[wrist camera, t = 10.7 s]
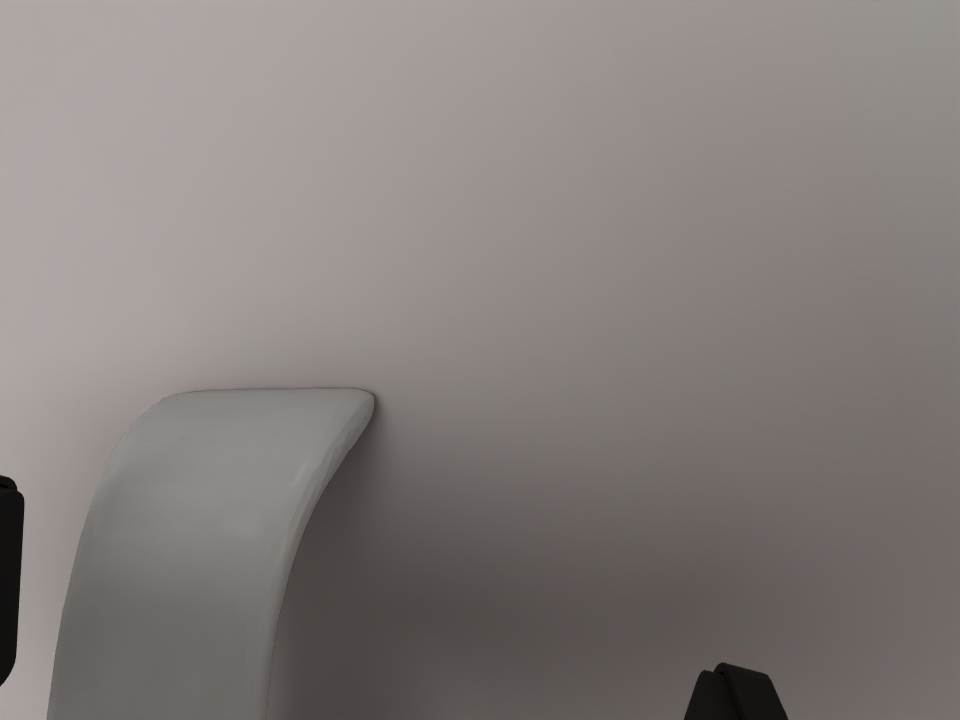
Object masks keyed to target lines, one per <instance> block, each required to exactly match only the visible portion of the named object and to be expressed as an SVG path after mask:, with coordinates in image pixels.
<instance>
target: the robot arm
mask: <svg viewBox="0 0 960 720" xmlns="http://www.w3.org/2000/svg"><path fill="white" fill-rule="evenodd" d="M23 522H24V497H23V495H22V494H21V493H20V492H18V491H17V486H16V484H15V482H14V481H13V480H12V479H10V478H9V477H5V476H1V475H0V686H1V685H2V684H3V683H4V682H5V680H6V679H7V678H8V676H9V674H10V672H11V671H12V669H13V666H14V663H15V659H16V649H17V631H18V613H19V595H20V576H21V558H22V540H23ZM684 720H788V718H787V715H786V713H785V711H784V709H783V706H782V704H781V702H780V699H779V697H778V695H777V693H776V690H775V688H774V686H773V684H772V681H771V680H770V678H769V677H768V675H766V674H764V673H761V672H757V671H753V670H749V669H745V668H742V667H738V666H734V665H730V664H726V663H720V664H718V665H717V667H716V668H715V670H714V672H710V671H706V670H704V671H702V672H701V673H700V675H699V677H698V679H697V682H696V685H695V688H694V691H693V694H692V697H691V700H690V703H689V706H688V709H687V711H686V714H685V717H684Z"/></svg>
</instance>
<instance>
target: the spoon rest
mask: <svg viewBox="0 0 960 720" xmlns="http://www.w3.org/2000/svg"><path fill="white" fill-rule="evenodd" d="M373 412H374V398H373V396H372V395H371V394H370V393H369V392H366V391H362V390H359V389H249V390H220V391H197V392H189V393H182V394H175V395H171V396H169V397H166V398H163V399H162V400H160V401H159V402H158V403H156V404H155V405H154V406H153V407H152V408H150V409H149V410H148V411H147V412H146V413H145V414H143V415H142V416H141V417H140V418H139V419H138V420H137V421H136V422H135V423H134V424H133V425H132V426H131V427H130V428H129V430H128V431H127V432H126V433H125V434H124V435H123V437H122V438H121V440H120V443H119V444H118V445H117V447H116V448H115V449H114V451H113V453H112V455H111V457H110V459H109V461H108V463H107V465H106V467H105V470H104V472H103V474H102V477H101V479H100V481H99V483H98V486H97V489H96V492H95V495H94V498H93V500H92V503H91V506H90V509H89V512H88V515H87V518H86V521H85V525H84V528H83V531H82V535H81V538H80V541H79V545H78V548H77V553H76V557H75V561H74V565H73V570H72V574H71V578H70V582H69V587H68V591H67V595H66V599H65V604H64V608H63V612H62V618H61V624H60V630H59V635H58V641H57V647H56V653H55V661H54V668H53V676H52V683H51V691H50V698H49V706H48V713H47V720H267V710H268V690H269V682H270V673H271V664H272V655H273V648H274V641H275V634H276V627H277V623H278V619H279V615H280V611H281V607H282V603H283V599H284V595H285V591H286V587H287V583H288V579H289V575H290V572H291V568H292V565H293V562H294V559H295V555H296V552H297V549H298V546H299V544H300V541H301V539H302V536H303V533H304V531H305V528H306V526H307V524H308V521H309V519H310V517H311V515H312V512H313V510H314V508H315V506H316V505H317V503H318V501H319V499H320V497H321V495H322V494H323V492H324V490H325V488H326V487H327V485H328V483H329V481H330V479H331V478H332V476H333V475H334V473H335V472H336V470H337V469H338V467H339V466H340V464H341V463H342V461H343V460H344V458H345V456H346V455H347V453H348V452H349V450H350V449H351V448H352V447H353V445H354V444H355V443H356V441H357V440H358V438H359V437H360V435H361V434H362V432H363V431H364V429H365V428H366V426H367V425H368V423H369V421H370V419H371V416H372V414H373Z"/></svg>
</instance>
